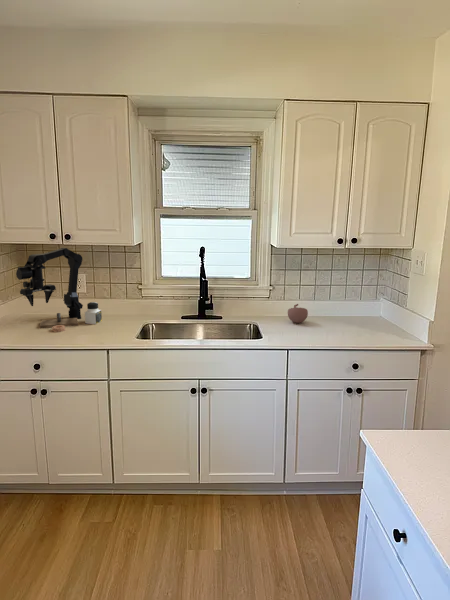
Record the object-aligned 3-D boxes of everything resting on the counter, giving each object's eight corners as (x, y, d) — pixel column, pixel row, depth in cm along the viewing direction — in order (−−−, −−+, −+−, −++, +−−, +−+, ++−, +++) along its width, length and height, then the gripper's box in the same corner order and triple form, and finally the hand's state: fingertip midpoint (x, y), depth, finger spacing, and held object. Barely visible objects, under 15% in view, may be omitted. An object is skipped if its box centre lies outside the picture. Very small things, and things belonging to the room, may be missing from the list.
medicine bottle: (96, 324, 239) (95, 304, 237) (85, 323, 240) (83, 303, 238) (102, 321, 246) (101, 301, 244) (91, 320, 247) (89, 301, 245)
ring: (65, 328, 231) (64, 324, 230) (65, 331, 225) (64, 327, 224) (52, 329, 228) (52, 325, 228) (52, 332, 223) (52, 328, 222)
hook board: (77, 320, 247) (76, 309, 246) (77, 325, 237) (77, 314, 235) (41, 322, 241) (40, 312, 239) (39, 328, 230) (39, 317, 228)
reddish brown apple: (305, 320, 254) (306, 302, 252) (308, 325, 242) (309, 306, 240) (286, 319, 254) (286, 302, 252) (288, 325, 243) (289, 306, 240)
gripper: (43, 273, 240) (45, 299, 244) (12, 278, 225) (15, 305, 228) (55, 275, 235) (57, 302, 238) (24, 280, 219) (27, 308, 223)
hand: (39, 304), depth 232 cm, fingers open, 9 cm apart
